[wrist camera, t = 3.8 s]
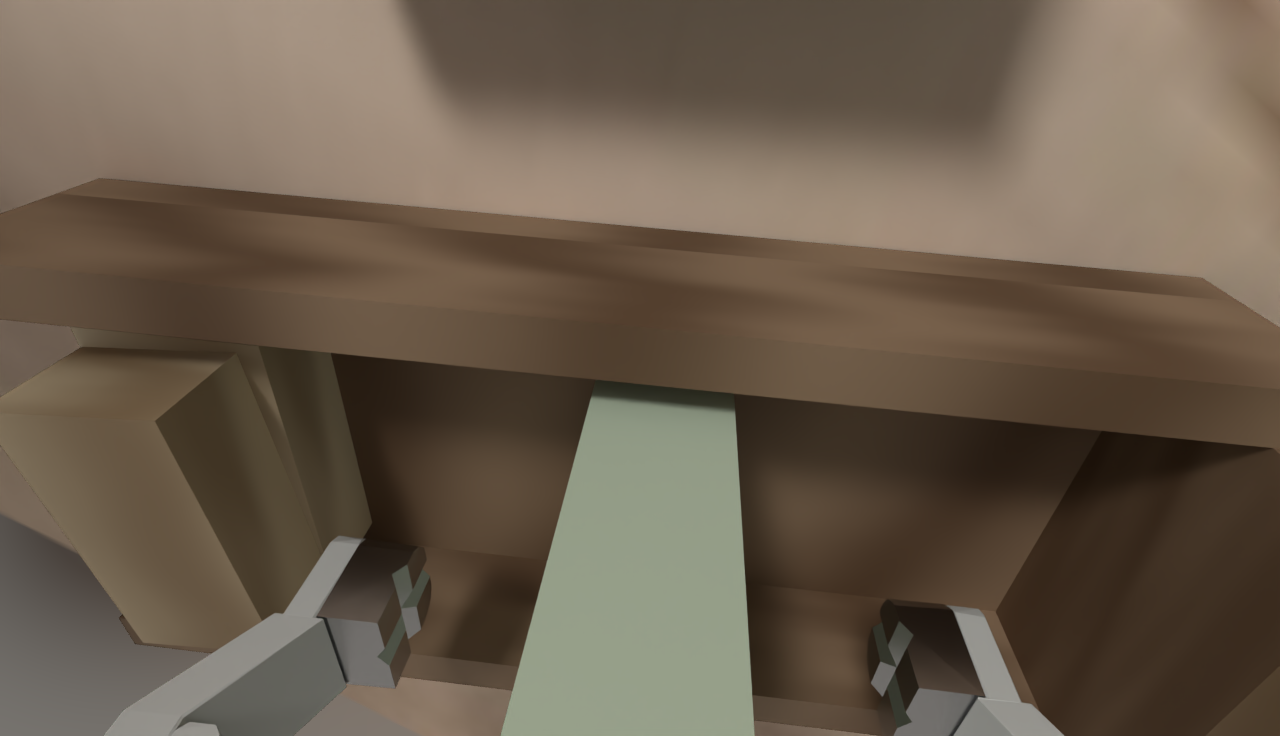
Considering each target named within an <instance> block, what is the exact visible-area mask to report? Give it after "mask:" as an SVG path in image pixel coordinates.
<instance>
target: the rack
mask: <svg viewBox="0 0 1280 736" xmlns="http://www.w3.org/2000/svg"><path fill="white" fill-rule="evenodd" d="M0 319H1V320H11V321H20V322H30V323H40V324H50V325H60V326H70V327H80V328H90V329H100V330H110V331H119V332H129V333H139V334H149V335H159V336H169V337H179V338H189V339H199V340H209V341H218V342H228V343H238V344H248V345H258V346H268V347H278V348H288V349H298V350H307V351H317V352H327V353H331V357H332V361H333V365H334V369H335V373H336V377H337V381H338V385H339V389H340V393H341V397H342V401H343V405H344V410H345V414H346V418H347V422H348V426H349V430H350V434H351V438H352V442H353V446H354V450H355V454H356V458H357V462H358V467H359V471H360V475H361V479H362V483H363V487H364V491H365V495H366V499H367V503H368V507H369V511H370V515H371V520H372V524H371V526H370V527H369V529H368V531H367V532H366V534H365V536H364V537H363V539H370V540H378V541H385V542H392V543H399V544H406V545H413V546H420V547H424V550H425V554H426V558H427V560H426V563H425V565H424V567H423V570H424V571H425V572H426V573H427V574H428V575H429V576H430V579H431V585H432V588H431V600H430V605H429V609H428V613H427V616H426V619H425V621H424V623H423V626H422V628H421V630H420V631H418V632H417V633H416V634H414V635H413V636H412V637H410V638H409V639H408V641H409V645H410V650H411V654H410V656H409V659H408V661H407V663H406V665H405V668H404V670H403V672H402V675H401V677H407V678H415V679H423V680H432V681H440V682H448V683H456V684H464V685H472V686H480V687H488V688H497V689H505V690H513V687H514V683H515V680H516V676H517V672H518V668H519V665H520V661H521V657H522V654H523V650H524V646H525V642H526V639H527V635H528V631H529V627H530V624H531V620H532V616H533V612H534V609H535V605H536V601H537V598H538V594H539V590H540V586H541V583H542V579H543V575H544V571H545V568H546V564H547V560H548V556H549V553H550V549H551V545H552V541H553V538H554V534H555V530H556V527H557V523H558V519H559V515H560V512H561V508H562V504H563V500H564V497H565V493H566V489H567V485H568V482H569V478H570V474H571V470H572V467H573V463H574V459H575V456H576V452H577V448H578V444H579V441H580V437H581V433H582V429H583V426H584V422H585V418H586V414H587V411H588V407H589V403H590V399H591V396H592V392H593V388H594V385H595V381H596V380H604V381H614V382H624V383H634V384H644V385H654V386H664V387H674V388H684V389H693V390H703V391H713V392H723V393H733V394H734V401H735V418H736V435H737V451H738V468H739V484H740V501H741V518H742V534H743V551H744V567H745V584H746V601H747V617H748V634H749V650H750V667H751V684H752V700H753V717H754V720H756V721H765V722H773V723H781V724H789V725H797V726H805V727H813V728H821V729H830V730H838V731H846V732H854V733H862V734H870V735H878V736H883V734H882V730H881V726H880V721H879V717H878V713H877V707H878V705H879V703H880V701H881V699H882V695H881V694H880V693H879V692H878V691H877V690H876V689H875V687H874V686H873V685H872V684H871V682H870V677H869V672H868V665H867V645H868V638H869V636H870V633H871V630H872V627H874V626H876V625H878V624H879V623H881V622H882V620H881V616H880V612H879V611H880V609H881V607H882V604H883V602H884V601H886V600H887V599H897V600H907V601H917V602H927V603H937V604H945V605H949V606H959V607H968V608H976V609H979V610H980V611H981V612H982V613H983V614H984V616H985V618H986V621H987V623H988V625H989V627H990V630H991V632H992V634H993V637H994V639H995V641H996V644H997V646H998V648H999V651H1000V653H1001V655H1002V658H1003V660H1004V662H1005V665H1006V667H1007V669H1008V672H1009V674H1010V676H1011V678H1012V681H1013V683H1014V685H1015V688H1016V690H1017V692H1018V695H1019V697H1020V699H1021V702H1024V703H1030V704H1032V705H1033V706H1034V707H1035V708H1036V709H1037V710H1038V711H1039V712H1040V713H1041V714H1042V715H1043V716H1044V717H1046V718H1047V719H1048V720H1049V721H1050V722H1051V723H1052V724H1053V725H1054V726H1055V727H1056V728H1057V729H1058V730H1059V731H1060V732H1061V733H1062V734H1063V735H1064V736H1280V328H1279V327H1278V326H1276V325H1275V324H1273V323H1272V322H1270V321H1268V320H1267V319H1265V318H1264V317H1262V316H1261V315H1259V314H1258V313H1256V312H1254V311H1253V310H1251V309H1250V308H1248V307H1247V306H1245V305H1244V304H1242V303H1240V302H1239V301H1237V300H1236V299H1234V298H1233V297H1231V296H1230V295H1228V294H1226V293H1225V292H1223V291H1222V290H1220V289H1219V288H1217V287H1216V286H1214V285H1212V284H1211V283H1209V282H1208V281H1206V280H1205V279H1203V278H1197V277H1186V276H1175V275H1164V274H1153V273H1142V272H1130V271H1119V270H1108V269H1097V268H1086V267H1075V266H1064V265H1053V264H1042V263H1031V262H1020V261H1009V260H998V259H986V258H975V257H964V256H953V255H942V254H931V253H920V252H909V251H898V250H887V249H876V248H865V247H854V246H843V245H831V244H820V243H809V242H798V241H787V240H776V239H765V238H754V237H743V236H732V235H721V234H710V233H699V232H687V231H676V230H665V229H654V228H643V227H632V226H621V225H610V224H599V223H588V222H577V221H566V220H555V219H543V218H532V217H521V216H510V215H499V214H488V213H477V212H466V211H455V210H444V209H433V208H422V207H411V206H399V205H388V204H377V203H366V202H355V201H344V200H333V199H322V198H311V197H300V196H289V195H278V194H267V193H256V192H244V191H233V190H222V189H211V188H200V187H189V186H178V185H167V184H156V183H145V182H134V181H123V180H112V179H100V178H99V179H96V180H94V181H91V182H88V183H85V184H82V185H80V186H77V187H74V188H71V189H68V190H66V191H63V192H60V193H57V194H55V195H52V196H49V197H46V198H43V199H41V200H38V201H35V202H32V203H29V204H27V205H24V206H21V207H18V208H15V209H13V210H10V211H7V212H4V213H1V214H0ZM119 619H120V621H121V622H122V624H123V625H124V627H125V629H126V630H127V632H128V633H129V635H130V637H131V638H132V640H133V641H134V643H135V644H139V645H148V646H155V647H164V648H172V649H180V650H188V651H196V652H204V653H213V652H215V651H216V650H218V649H214V648H201V647H189V646H177V645H165V644H152V643H143V642H142V640H141V639H140V638H139V636H138V635H137V634H136V632H135V631H134V629H133V628H132V627H131V625H130V624H129V622H128V621H127V620H126V618H125V617H124V616H123V614H122V615H121V616H120V617H119Z"/></svg>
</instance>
